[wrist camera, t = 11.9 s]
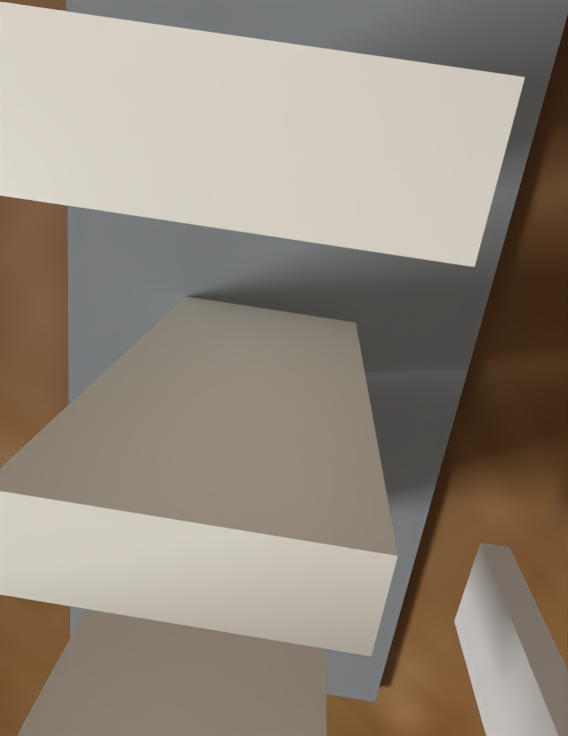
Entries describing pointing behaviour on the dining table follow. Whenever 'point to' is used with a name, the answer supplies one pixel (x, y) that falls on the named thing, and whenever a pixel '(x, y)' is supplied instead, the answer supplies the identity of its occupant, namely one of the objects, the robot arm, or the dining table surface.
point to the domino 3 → (178, 683)
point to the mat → (330, 251)
